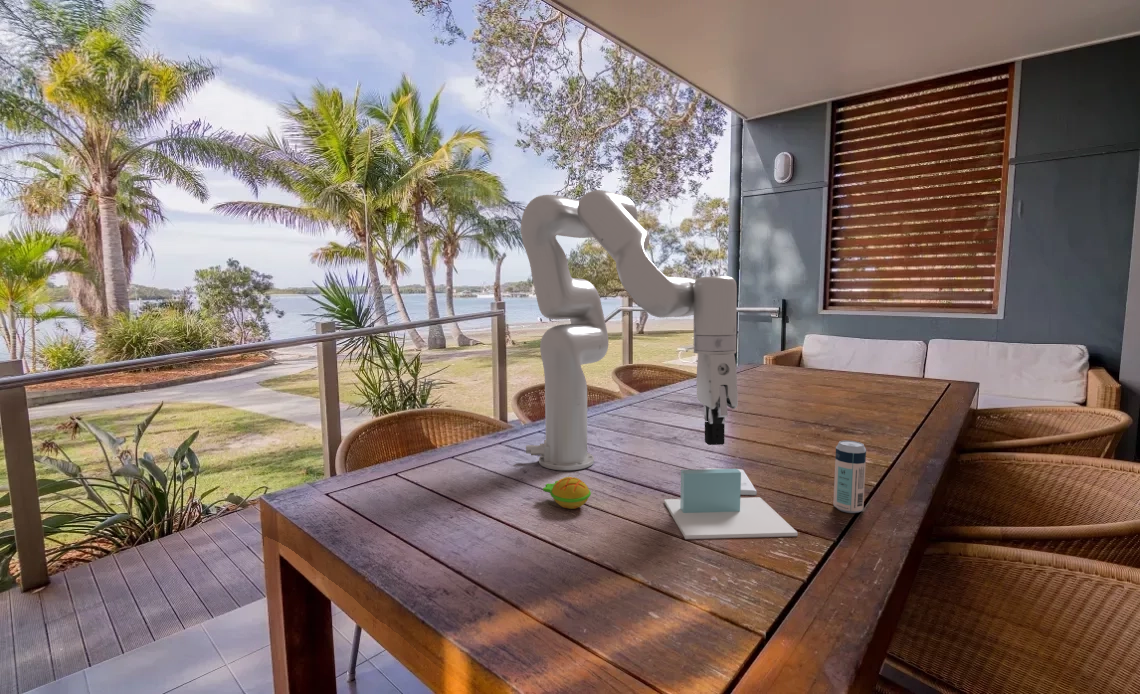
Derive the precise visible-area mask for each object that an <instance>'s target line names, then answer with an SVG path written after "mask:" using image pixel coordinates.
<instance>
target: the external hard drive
mask: <svg viewBox="0 0 1140 694" xmlns="http://www.w3.org/2000/svg"><path fill="white" fill-rule="evenodd" d="M705 469H719V468H713V467H711V468H710V467H706V468H705ZM737 469H738V470H739V471H740V472H741V494H740V496H741V495H743V496H744V495H745V496H757V494H758V493H757V489H756V488H755V486H754V485H753V483H752V482H751V480H750V478H749V477H748V475H747V473H746V472H745V470H744V469H742V468H741V469H740V468H737Z"/></svg>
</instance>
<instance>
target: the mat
mask: <svg viewBox="0 0 1140 694" xmlns="http://www.w3.org/2000/svg"><path fill="white" fill-rule="evenodd" d="M663 501H664V502H663V503H664V506H666V508H667V510H668V512H669V513H670V515H671V517H672V518H673V520H674V522H675V525H676V526H677V527H678V529H679V531H680V532H681V534H682V535H683V537H684V539H685V540H696V539H698V540H699V539H700V540H701V539H732V538H733V539H736V538H737V539H738V538H742V539H743V538H770V537H771V538H773V537H774V538H775V537H779V538H780V537H781V538H782V537H798V534H799V533H798V531H797V530H796V529H794V527H792V525H790V524H789V523H788V522H787V521H786V520H785V519H784V518H783V517H782V516H781V515H780V514H778V513H777V512H776V510H775V509H773V508H772V507H771V506H770V505H769V504H768V503H767V502H766V501H765V500H764V499H763V498H761V497H758V496H757V497H756V496H755V497H753V496H752V497H740V511H738V512H702V513H683V512H682V510H681V509H680V501H681V498H675V499H674V498H672V499H671V498H670V499H668V498H667V499H664V500H663Z"/></svg>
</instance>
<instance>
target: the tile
mask: <svg viewBox="0 0 1140 694" xmlns="http://www.w3.org/2000/svg"><path fill="white" fill-rule="evenodd" d="M738 469H739V468H718V469H706V468H703V469H681V470H680V499H681V501H680V509H681V510H682V512H683V513H702V512H738V511H740V498H741V495H740V494H741V472H740V471H739V470H738Z"/></svg>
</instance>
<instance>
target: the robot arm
mask: <svg viewBox="0 0 1140 694" xmlns="http://www.w3.org/2000/svg"><path fill="white" fill-rule="evenodd" d="M520 232H521V233H520V235H521V239H522V243H523V247H524V250H525V253H526V256H527V259H528V261H529V266H530V272H531V277H532V282H533V287H534V292H535V296H536V300H537V301H536V302H537V306H538V308H539V311H540V313H541V314H542V316H543V317H544V318H546V319H549V320H556V321H558V320H559V321H560V320H570V323H567V324H557V325H554V326H552V327H550V328H549V329H548V330H546V331H545V332H544V334H543V335H542V337H541V339H540V345H539V347H540V348H539V349H540V351H539V352H540V356H541V357H540V358H541V362H542V366H543V373H544V374H543V375H544V399H545V400H544V402H545V403H544V407H545V408H544V410H545V411H544V413H545V414H544V415H545V423H544V424H545V440H544V441H543V442H544V443H539V445H538V444H537V445H536V444H535V445H534V444H526V445H525V453H526V455H527V454H530V456H539V457H538V463H539V465H540V466H542V467H544V468H546V469H549V470H555V471H578V470H583V469H587V468H590V467H591V466H592V465H593V464H594V463H595V457H594V455H593V454H591V453H590V452H588V384H587V383H588V382H587V380H586V376H585V374H584V372H583V368H582V365H588V364H593V363H597V362H599V361H601V360H602V359H604V357H605V355H607V352H608V350H609V335H608V330H607V329H608V328H607V325H606V320H605V315H604V311H603V306H602V305H603V304H602V300H601V297H600V294H599V292H598V290H597V288H596V287H595V285H593V284H592V283H591V282H590V281H589V280H587V279H584V278H580V277H579V278H576V277H572V275H571V272H570V268H569V264H568V263H569V261H568V258H567V255H566V253H565V251H564V249H563V248H562V246H561V245H560V242H558V240H557V236H559V237H560V236H561V237H566V238H567V237H568V238H576V239H577V238H579V239H587V238H588V239H589V238H594V239H595V240H596V242H598V243H599V245H601V247H602V248H603V249H604V250H605V251H606V252H607V253H608V254H609V256H610V257H611V258H612V259H613V261H614V262H615V268H616V271H617V275H618V278H619V281H620V283H621V285H622V287H623V288H624V289H625V291H626V292H627V293H628V294H629V296H630V297H631V298H632V299H633V300H634V301H635V302H636V303H637V305H638V306H639V307H640V308H641V309H642V310H643V311H645V313H647V314H648V315H650V316H653V317H656V318H660V319H661V318H662V319H663V318H682V317H690V316H693V353H694V354H697V360H696V362H697V363H696V397H697V401H698V402H699V403H701V404H702V406H703V411H704V412H703V415H704V442H705V443H706V444H707V445H708V446H720V445H721V446H722V445H724V444H725V426H726V425H725V424H726V418H727V417H728V416H729V415H728V408H730V409H732V410H734V409H737V407H738V405H739V403H738V402H739V398H738V397H739V395H738V374H737V373H738V372H737V365H736V363H737V362H736V357H735V354H736V353H737V309H738V308H737V305H738V304H737V303H738V302H737V299H738V298H737V295H738V293H737V289H738V287H737V282H736V280H735V279H734V278H733V277H731V276H729V275H727V276H723V275H721V276H719V275H717V276H715V275H714V276H703V277H702V276H700V277H699V278H691V277H683V276H666V275H665V274H664V273H663V272H662V271H661V270H660V269H659V268H658V267H657V266H656V265H655V264H654V263H653V262H652V260H651V259H650V257H649V256H648V254H647V253H646V249H647V247H648V246H649V243H650V235H649V232H648V231H647V230H646V228H644V227H643V226H642V225H641V224H640V223H639V222H638V210H637V207H636V204H635V203H634V202H633V201H632V200H631V198H629V197H627V196H626V195H623V194H619V193H617V192H616V193H615V192H612V191H608V190H603V189H602V190H601V189H595V190H590V191H589V192H587V193H585V194H584V195H583V196H582V197H581V198H580V199H575V198H574V199H573V198H570V197H565V196H560V195H556V194H543V195H538V196H536V197H534V198H532V199H531V200H530V201H529V203H528V204H527V205H526V207H525V209H524V210H523V213H522V216H521V220H520Z"/></svg>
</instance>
